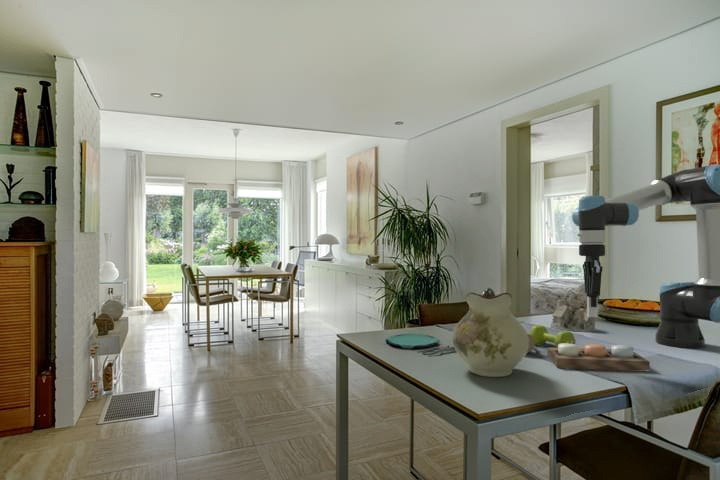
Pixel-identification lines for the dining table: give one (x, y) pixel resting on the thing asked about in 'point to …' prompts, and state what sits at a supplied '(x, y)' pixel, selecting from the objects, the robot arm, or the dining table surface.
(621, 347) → the grey button
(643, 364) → the wooden compartment tray
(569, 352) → the cream button
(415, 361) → the dining table surface
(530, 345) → the ceramic mug
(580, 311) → the ceramic cottage
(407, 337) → the cutlery set
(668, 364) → the dining table surface
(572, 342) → the dumbbell
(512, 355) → the pitcher
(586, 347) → the terracotta button
